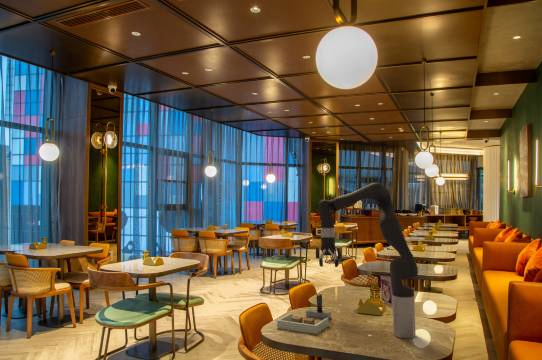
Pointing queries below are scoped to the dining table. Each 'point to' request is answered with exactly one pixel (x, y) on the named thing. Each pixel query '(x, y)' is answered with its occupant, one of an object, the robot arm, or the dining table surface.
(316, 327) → the tray
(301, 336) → the dining table surface
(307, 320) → the walnut block
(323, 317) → the scraper
